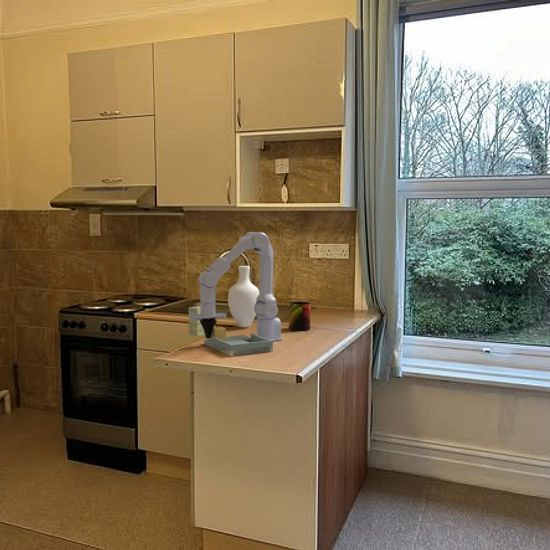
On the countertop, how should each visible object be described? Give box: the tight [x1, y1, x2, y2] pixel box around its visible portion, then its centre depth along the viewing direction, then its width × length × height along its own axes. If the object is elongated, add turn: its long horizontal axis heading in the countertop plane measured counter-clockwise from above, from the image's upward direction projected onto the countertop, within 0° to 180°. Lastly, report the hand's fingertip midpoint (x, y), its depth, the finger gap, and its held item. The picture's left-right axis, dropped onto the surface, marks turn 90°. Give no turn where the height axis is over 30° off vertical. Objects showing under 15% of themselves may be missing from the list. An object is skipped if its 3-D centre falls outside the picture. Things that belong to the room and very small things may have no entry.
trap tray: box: [203, 333, 274, 357], centre depth 211 cm, size 17×24×4 cm
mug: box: [288, 301, 312, 332], centre depth 251 cm, size 10×14×12 cm
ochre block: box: [211, 326, 227, 341], centre depth 215 cm, size 4×4×4 cm
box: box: [188, 305, 216, 337], centre depth 237 cm, size 10×6×12 cm, turn 141°
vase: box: [227, 265, 259, 329], centre depth 253 cm, size 14×14×28 cm
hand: (208, 338), depth 213 cm, fingers closed
